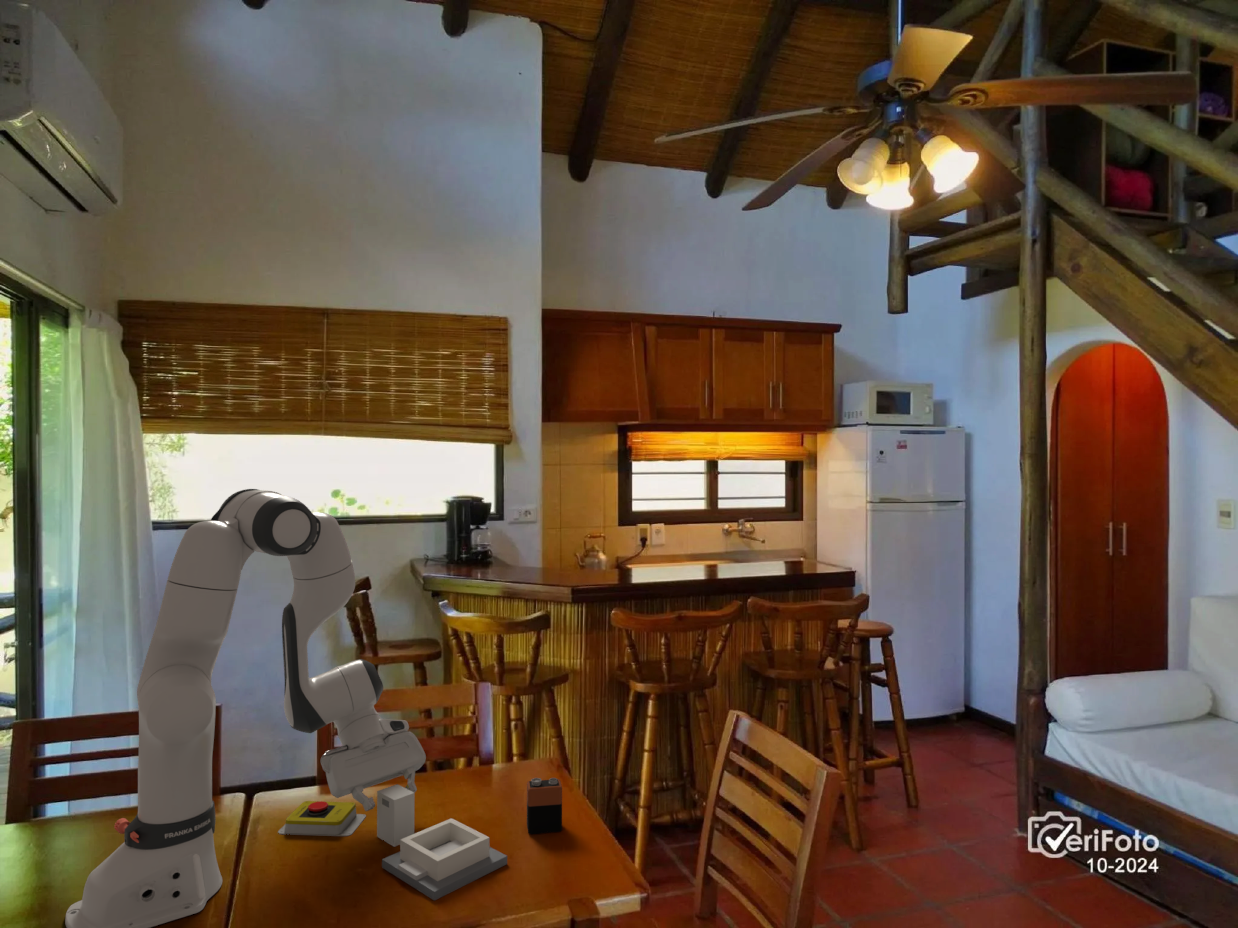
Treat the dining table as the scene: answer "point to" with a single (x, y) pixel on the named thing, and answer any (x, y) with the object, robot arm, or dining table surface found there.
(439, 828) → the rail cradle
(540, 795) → the battery
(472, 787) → the dining table surface
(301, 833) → the emergency button
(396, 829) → the block
